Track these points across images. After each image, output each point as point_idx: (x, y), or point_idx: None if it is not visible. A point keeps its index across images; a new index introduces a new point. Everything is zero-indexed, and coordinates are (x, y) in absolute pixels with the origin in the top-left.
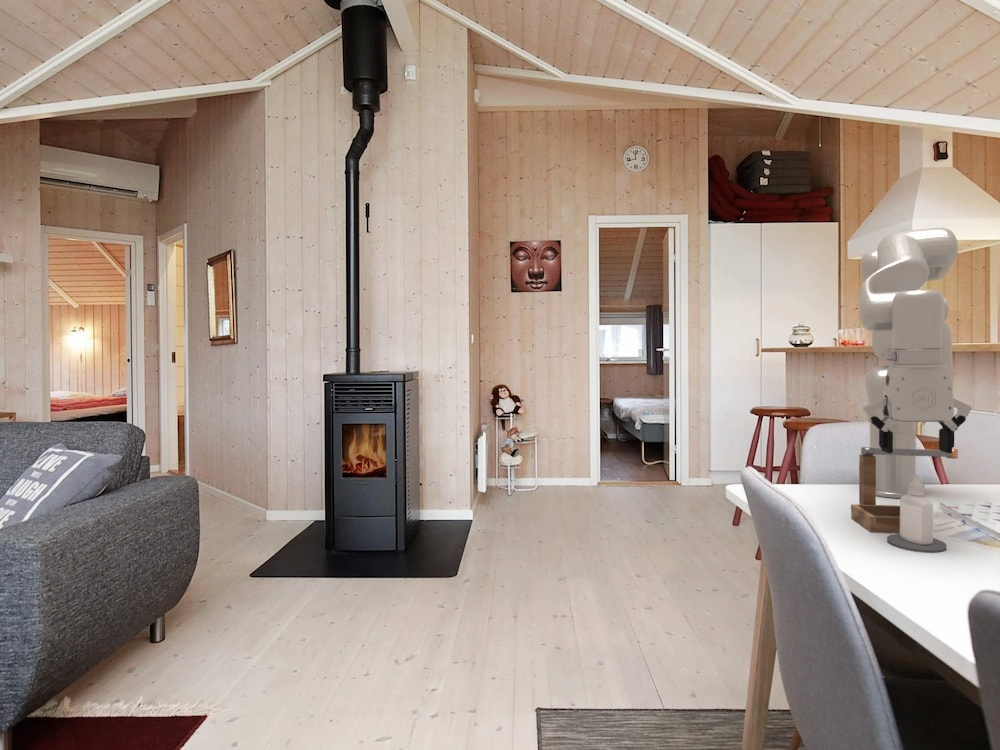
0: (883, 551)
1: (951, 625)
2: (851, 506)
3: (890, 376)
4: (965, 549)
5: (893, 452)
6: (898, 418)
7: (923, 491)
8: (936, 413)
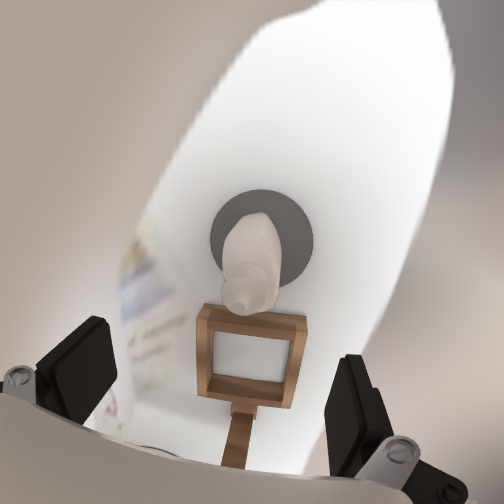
0: (350, 197)
1: None
2: (290, 405)
3: None
4: (185, 212)
5: None
6: (384, 491)
7: (233, 270)
8: (31, 458)
